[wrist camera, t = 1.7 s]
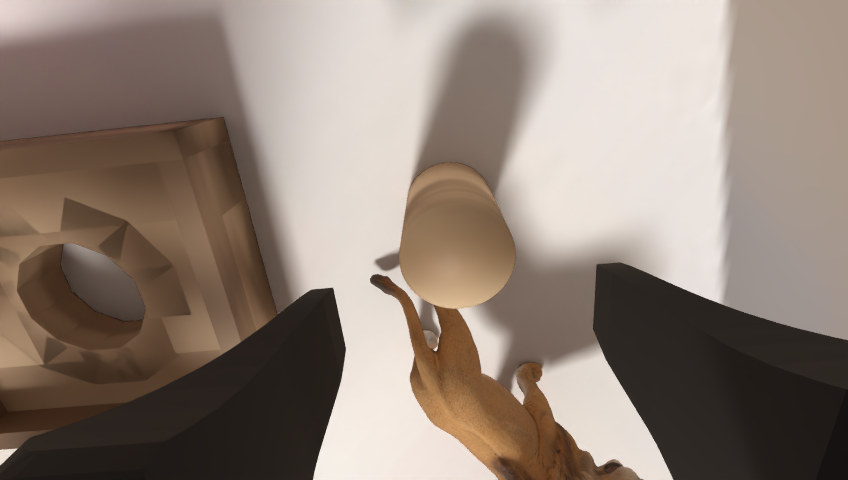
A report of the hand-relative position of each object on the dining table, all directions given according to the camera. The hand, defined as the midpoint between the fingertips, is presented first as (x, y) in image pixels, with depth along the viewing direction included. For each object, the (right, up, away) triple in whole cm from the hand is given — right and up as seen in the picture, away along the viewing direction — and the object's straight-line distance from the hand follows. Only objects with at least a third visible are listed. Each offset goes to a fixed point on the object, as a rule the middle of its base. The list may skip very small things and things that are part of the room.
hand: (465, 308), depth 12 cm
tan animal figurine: (+2, -4, +12) cm, 13 cm away
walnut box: (-17, 0, +10) cm, 19 cm away
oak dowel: (0, +4, +9) cm, 9 cm away
